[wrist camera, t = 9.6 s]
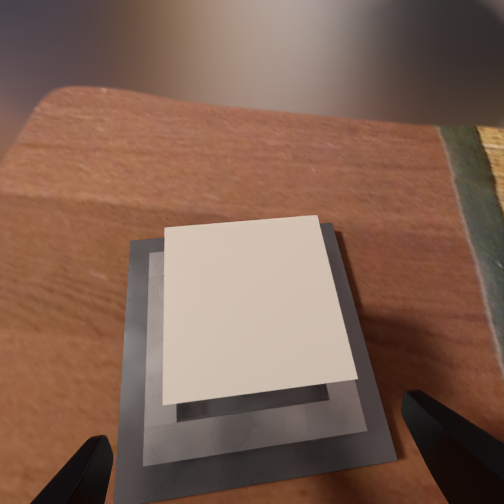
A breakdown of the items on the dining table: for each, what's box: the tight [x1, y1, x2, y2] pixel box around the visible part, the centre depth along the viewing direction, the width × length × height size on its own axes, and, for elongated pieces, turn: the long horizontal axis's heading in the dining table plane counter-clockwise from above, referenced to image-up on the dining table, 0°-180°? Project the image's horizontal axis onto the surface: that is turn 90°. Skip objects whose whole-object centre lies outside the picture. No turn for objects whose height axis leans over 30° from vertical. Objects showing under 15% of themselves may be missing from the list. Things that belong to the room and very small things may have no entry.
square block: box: [163, 215, 358, 405], centre depth 12 cm, size 5×5×9 cm
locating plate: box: [114, 223, 397, 504], centre depth 16 cm, size 14×14×2 cm
